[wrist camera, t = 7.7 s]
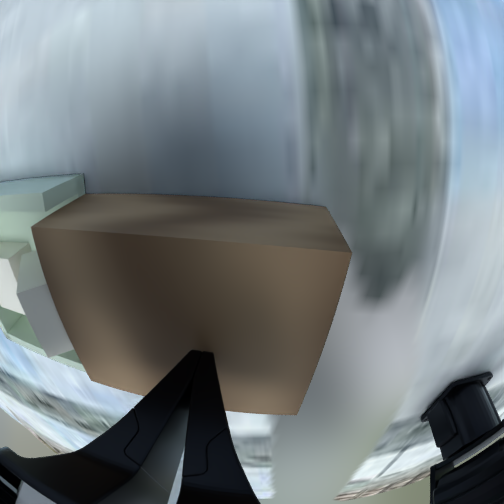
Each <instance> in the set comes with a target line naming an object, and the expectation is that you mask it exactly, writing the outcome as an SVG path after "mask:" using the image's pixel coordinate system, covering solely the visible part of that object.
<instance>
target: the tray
mask: <svg viewBox="0 0 504 504" xmlns="http://www.w3.org/2000/svg"><path fill="white" fill-rule="evenodd" d="M84 194H85V185H84V175H83V174H70V175H57V176H46V177H37V178H28V179H20V180H12V181H5V182H0V241H1V242H22V243H29V244H30V248H31V251H35V250H36V247H35V243H34V239H33V235H32V231H31V226H33V225H34V224H36V223H37V222H39V221H40V220H42V219H44V218H45V217H47V216H48V215H50V214H52V213H53V212H55V211H56V210H58V209H60V208H61V207H63V206H65V205H66V204H68V203H70V202H72V201H73V200H75V199H77V198H79V197H80V196H82V195H84ZM0 327H1V329H2V331H3V333H4V335H5V336H6V338H7V339H9V340H11V341H13V342H15V343H17V344H19V345H21V346H23V347H25V348H27V349H29V350H32V351H34V352H36V353H38V354H41V355H43V356H45V357H47V355H46V353H45V351H44V350H43V348H42V346H41V344H40V342H39V341H38V339H37V337H36V335H35V333H34V331H33V329H32V327H31V325H30V323H29V321H28V319H27V317H26V315H24V314H21V313H18V312H15V311H12V310H9V309H6V308H4V307H1V305H0ZM47 358H48V357H47ZM50 359H52V360H55V361H57V362H60V363H62V364H65V365H67V366H70V367H73V368H75V369H78V370H81V371H84V372H86V370H85V369H84V367H83V365H82V363H81V361H80V359H79V357H78V355H77V353H76V352H75V350H71V351H68V352H65V353H62V354H59V355H56V356H53V357H50Z"/></svg>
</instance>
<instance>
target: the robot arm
mask: <svg viewBox="0 0 504 504" xmlns="http://www.w3.org/2000/svg"><path fill="white" fill-rule="evenodd" d="M492 377H493V375H492V373H491V372H490V373H487V374H483V375H480V376H476V377H473V378H469V379H465V380H461V381H456V382H454V383H452V384H451V385H450V386H449V387H448V388H447V390H446V391H445V392H444V393H443V394H442V396H441V397H440V398H439V399H438V400H437V401H436V402H435V403H434V405H433V406H432V407H431V408H430V409H429V410H428V411H427V412H426V413H425V414H424V415H423V416H422V417H421V422H426V421H429V423H430V426H431V430H432V433H433V436H434V439H435V443H436V446H437V447H438V448H439V447H440V450H441V454H442V457H443V460H444V461H442V462H441V463H439V464H435V465H433V466H432V467H430V473H431V474H430V504H504V437H503V438H500V439H499V440H498V441H496V442H495V443H493V444H492V445H491V446H489V447H488V448H486V449H485V450H483V451H482V452H480V453H479V454H477V455H476V456H474V457H473V458H471V459H470V460H468V461H466V462H465V463H463V464H461V465H460V466H458V467H456V468H454V466H455V465H456V464H458V463H460V462H462V461H463V460H465V459H466V458H468V457H470V456H471V455H473V454H475V453H476V452H478V451H479V450H480V449H482V448H484V447H485V446H486V445H488V444H489V443H491V442H492V441H493V440H495V439H496V438H498V437H499V436H500V435H501V434H503V433H504V419H503V420H502V422H501V420H500V417H499V415H498V413H497V410H496V408H495V406H494V404H493V402H492V399H491V397H490V395H489V393H488V391H487V389H486V387H485V385H486V384H487V383H488V382H489V381H490V379H491V378H492ZM184 447H185V448H184ZM183 451H184V458H183V468H182V479H181V487H180V492H179V496H178V499H177V502H176V504H260V502H259V500H258V499H257V497H256V495H255V493H254V491H253V489H252V487H251V485H250V483H249V481H248V479H247V477H246V475H245V472H244V470H243V468H242V466H241V464H240V461H239V459H238V456H237V454H236V451H235V449H234V445H233V442H232V438H231V434H230V430H229V426H228V421H227V417H226V412H225V408H224V403H223V398H222V393H221V388H220V383H219V378H218V373H217V368H216V363H215V357H214V353H213V352H207V351H203V352H202V351H200V350H190V351H189V352H188V353H187V354H186V355H185V356H184V357H183V358H182V359H181V360H180V361H179V362H178V363H177V364H176V366H175V367H174V368H173V369H172V370H171V371H170V372H169V373H168V374H167V375H166V376H165V377H164V378H163V379H162V380H161V381H160V382H159V383H158V384H157V385H156V386H155V387H154V388H153V389H152V390H151V391H150V392H149V393H148V394H147V395H146V396H145V397H144V398H143V399H142V400H141V401H140V402H139V403H138V404H137V405H136V406H134V408H132V409H131V410H130V411H129V412H128V413H127V414H126V415H125V416H124V417H123V418H122V419H121V420H120V421H119V422H117V423H116V424H115V425H114V426H112V427H111V428H110V429H108V430H107V431H106V432H104V433H103V434H102V435H100V436H99V437H97V438H96V439H95V440H93V441H92V442H90V443H89V444H88V445H86V446H85V447H83V448H81V449H79V450H77V451H74V452H71V453H66V454H60V455H53V456H46V457H38V458H24V457H21V456H19V455H17V454H16V453H15V452H13V451H12V450H11V449H10V448H8V447H3V448H0V504H168V500H169V497H170V493H171V490H172V487H173V483H174V480H175V477H176V474H177V470H178V467H179V464H180V460H181V457H182V454H183Z"/></svg>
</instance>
